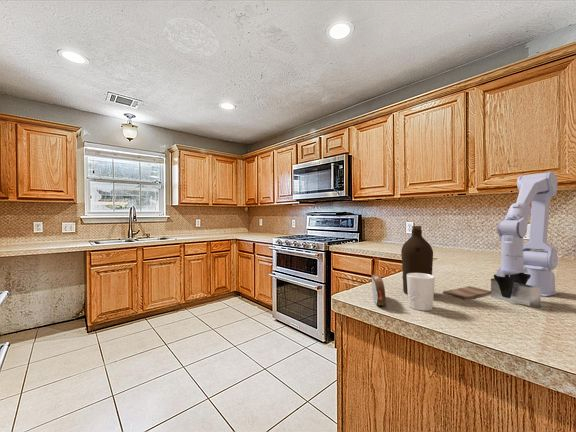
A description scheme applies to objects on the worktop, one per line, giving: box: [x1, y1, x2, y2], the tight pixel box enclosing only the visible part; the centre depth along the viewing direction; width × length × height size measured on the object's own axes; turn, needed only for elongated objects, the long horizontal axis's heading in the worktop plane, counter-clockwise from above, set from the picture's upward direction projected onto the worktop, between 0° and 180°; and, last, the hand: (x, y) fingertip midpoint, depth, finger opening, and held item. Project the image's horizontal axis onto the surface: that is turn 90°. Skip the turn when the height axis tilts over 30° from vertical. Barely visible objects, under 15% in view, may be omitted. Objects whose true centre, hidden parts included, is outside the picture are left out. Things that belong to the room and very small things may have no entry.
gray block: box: [490, 277, 542, 309], centre depth 88 cm, size 4×13×6 cm, turn 25°
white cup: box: [407, 273, 436, 312], centre depth 83 cm, size 8×8×10 cm
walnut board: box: [442, 286, 491, 300], centre depth 97 cm, size 16×8×1 cm, turn 115°
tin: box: [370, 274, 387, 307], centre depth 89 cm, size 15×3×8 cm, turn 168°
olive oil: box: [400, 225, 434, 295], centre depth 98 cm, size 11×11×25 cm
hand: (512, 295), depth 89 cm, fingers open, 7 cm apart
